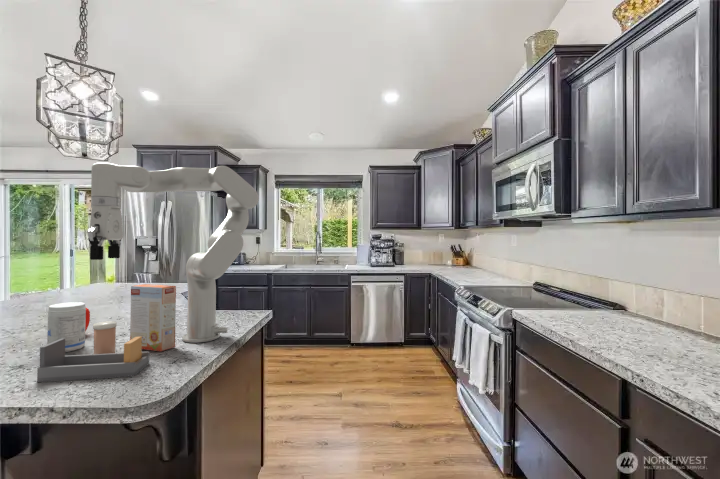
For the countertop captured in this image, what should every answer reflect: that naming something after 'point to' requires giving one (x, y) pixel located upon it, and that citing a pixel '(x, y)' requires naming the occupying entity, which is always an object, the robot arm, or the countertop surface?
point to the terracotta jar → (104, 337)
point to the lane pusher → (133, 350)
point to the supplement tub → (67, 324)
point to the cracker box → (153, 316)
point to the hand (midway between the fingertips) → (105, 258)
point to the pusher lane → (84, 364)
